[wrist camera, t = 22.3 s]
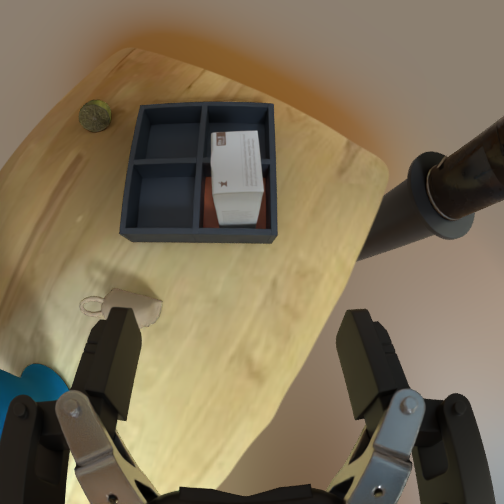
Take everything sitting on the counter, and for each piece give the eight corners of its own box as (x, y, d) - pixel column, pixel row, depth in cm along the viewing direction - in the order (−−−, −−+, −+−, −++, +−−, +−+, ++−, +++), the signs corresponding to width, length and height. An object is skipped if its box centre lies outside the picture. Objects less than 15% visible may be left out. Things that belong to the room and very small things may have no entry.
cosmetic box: (256, 230, 35) (269, 194, 23) (218, 232, 34) (211, 197, 22) (252, 181, 36) (262, 128, 24) (216, 183, 35) (210, 130, 23)
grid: (269, 122, 38) (273, 103, 34) (271, 243, 35) (277, 235, 31) (148, 123, 37) (140, 105, 32) (132, 242, 34) (119, 234, 30)
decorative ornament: (156, 334, 33) (144, 340, 27) (96, 314, 32) (76, 315, 27) (164, 301, 33) (152, 301, 28) (103, 282, 33) (83, 279, 28)
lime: (119, 122, 37) (108, 103, 32) (92, 142, 36) (79, 124, 31) (108, 106, 37) (97, 87, 32) (82, 124, 36) (69, 107, 31)
